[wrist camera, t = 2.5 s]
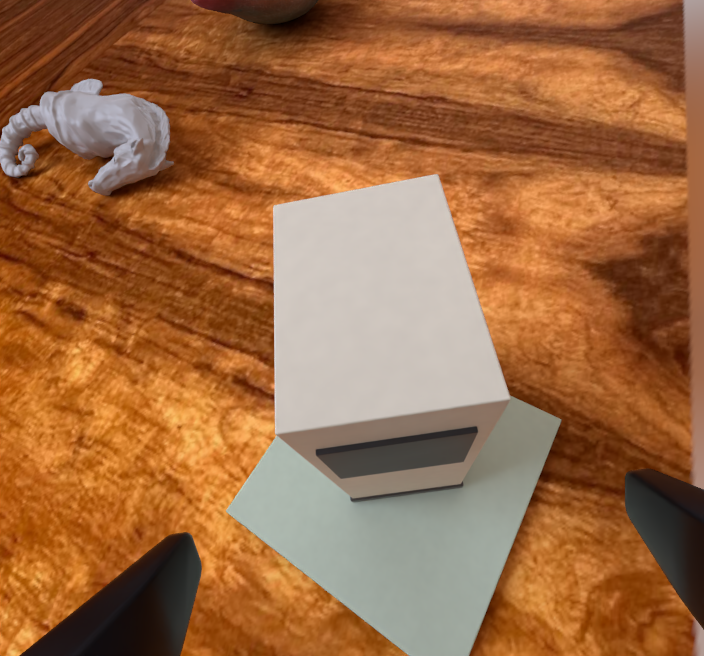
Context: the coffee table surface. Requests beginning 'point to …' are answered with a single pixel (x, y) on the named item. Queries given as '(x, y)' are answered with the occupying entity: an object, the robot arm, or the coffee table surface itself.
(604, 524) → the coffee table surface
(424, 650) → the mat
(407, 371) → the white tilted block
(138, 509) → the coffee table surface
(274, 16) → the bowl
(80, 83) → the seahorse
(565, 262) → the coffee table surface
